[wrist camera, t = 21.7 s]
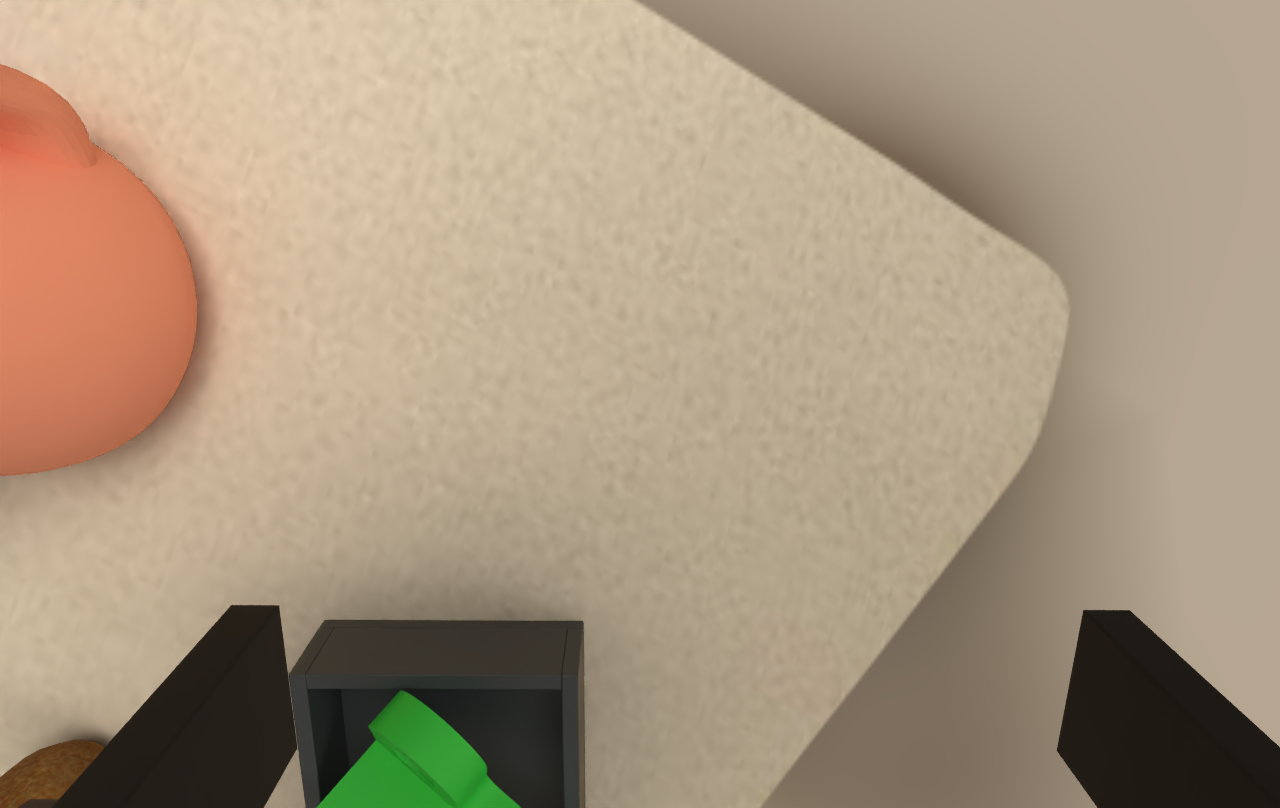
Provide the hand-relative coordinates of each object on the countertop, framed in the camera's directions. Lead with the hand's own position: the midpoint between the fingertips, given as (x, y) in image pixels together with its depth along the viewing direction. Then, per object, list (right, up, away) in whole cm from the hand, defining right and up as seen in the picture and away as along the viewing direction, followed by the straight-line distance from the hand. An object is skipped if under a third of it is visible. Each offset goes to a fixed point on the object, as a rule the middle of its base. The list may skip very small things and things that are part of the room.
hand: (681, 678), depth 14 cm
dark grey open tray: (-11, -16, +33) cm, 38 cm away
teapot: (-27, +11, +24) cm, 38 cm away
